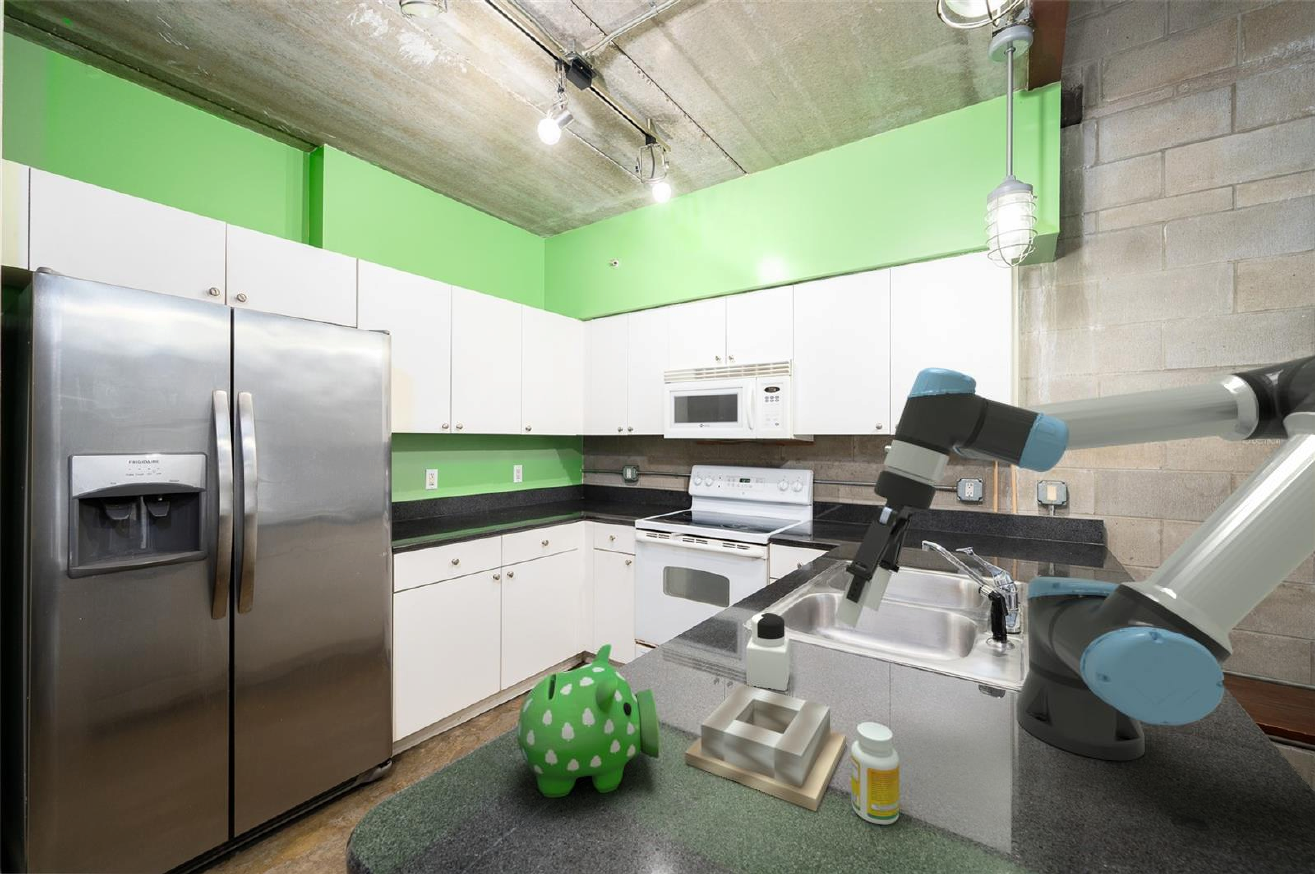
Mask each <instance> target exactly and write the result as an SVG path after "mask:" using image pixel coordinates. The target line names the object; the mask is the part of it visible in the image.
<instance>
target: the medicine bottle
mask: <svg viewBox="0 0 1315 874" xmlns="http://www.w3.org/2000/svg"><path fill="white" fill-rule="evenodd" d="M785 629H786V627H785V619H784V618H783V617H782V616H780V615H778V614H776V613H773V612H760V613H757V614H754V615H753V616H752V617H751V636H750V638H749V640H748V643H747V645H746V647H745V650H746V651H745V652H746V653H745V654H746V655H745V656H746V658H745V661H746V669H745V670H746V672H745V673H746V674H745V675H746V685H747V686H748V685H749V686H751V687H754V686H756V687H755V688H761V687H762V688H763V689H768V688H771V689H770V690H774V689H775V691H776V690H777V691H782V692H786V691H787V688H788V682H789V678H790V671H791V670H790V667H791V666H790V664H791V663H790V639H789V637H786V636H785V634H786V633H785V632H786V631H785ZM762 688H761V689H762Z"/></svg>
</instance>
